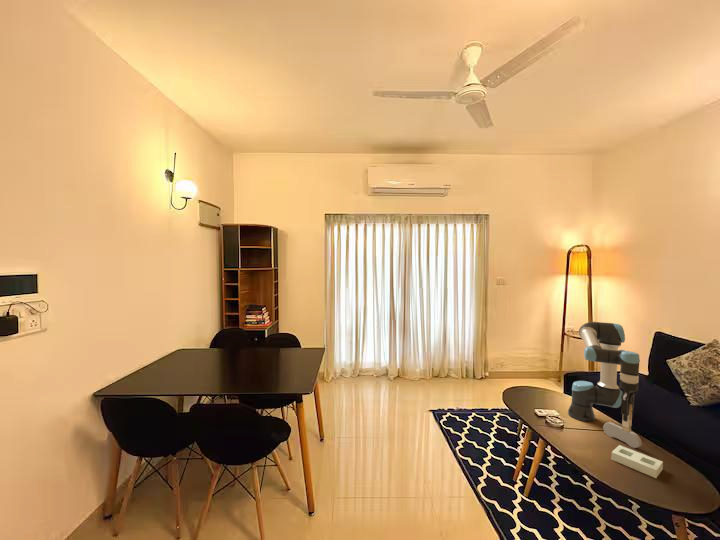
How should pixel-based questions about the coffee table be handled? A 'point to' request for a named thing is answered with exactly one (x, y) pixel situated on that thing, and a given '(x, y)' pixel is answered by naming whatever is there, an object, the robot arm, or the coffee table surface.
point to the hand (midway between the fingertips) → (626, 425)
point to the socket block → (637, 461)
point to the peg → (629, 421)
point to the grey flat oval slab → (622, 435)
